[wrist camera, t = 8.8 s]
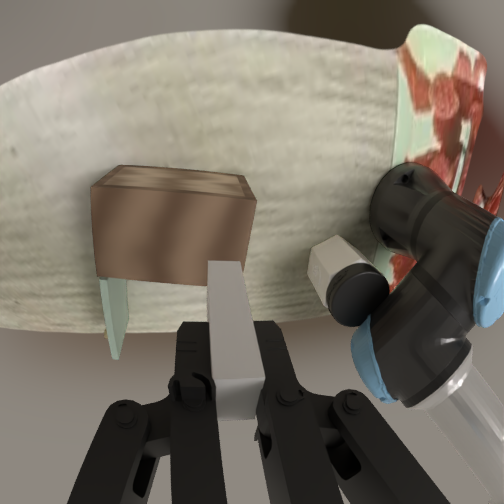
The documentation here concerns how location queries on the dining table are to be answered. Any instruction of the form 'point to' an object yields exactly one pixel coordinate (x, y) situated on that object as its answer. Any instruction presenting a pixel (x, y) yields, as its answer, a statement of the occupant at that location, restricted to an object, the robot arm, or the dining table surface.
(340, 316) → the jar
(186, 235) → the case
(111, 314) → the door
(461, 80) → the dining table surface
